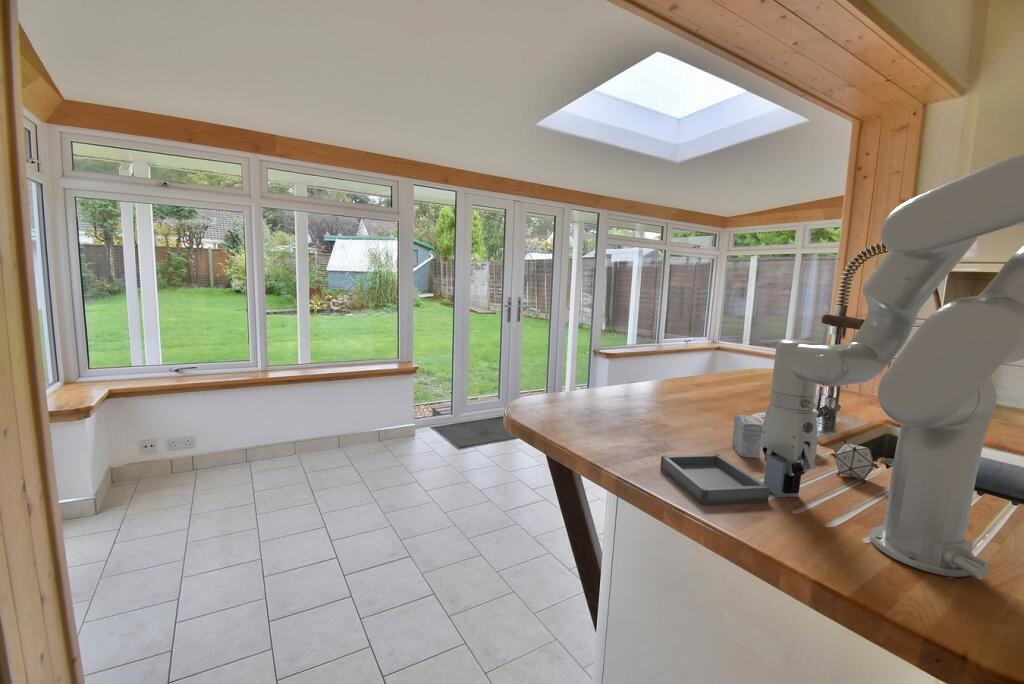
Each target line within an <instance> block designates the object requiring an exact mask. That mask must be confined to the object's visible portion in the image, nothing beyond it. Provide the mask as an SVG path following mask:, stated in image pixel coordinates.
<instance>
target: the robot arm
mask: <svg viewBox="0 0 1024 684" xmlns="http://www.w3.org/2000/svg"><path fill="white" fill-rule="evenodd" d="M1017 225H1018V226H1019V225H1020V226H1024V153H1023V154H1022V153H1021V154H1018V155H1014V156H1011V157H1008V158H1005V159H1003V160H1000V161H997V162H995V163H992V164H990V165H988V166H986V167H983V168H980V169H978V170H976V171H974V172H971V173H969V174H967V175H964V176H962V177H959V178H957V179H955V180H952V181H950V182H947V183H945V184H942V185H940V186H937V187H936V188H933V189H930V190H928V191H926V192H923V193H922V194H919V195H917V196H914V197H912V198H910V199H908V200H907V201H905V202H903V203H900V205H898V206H897V207H896V208H895V209H893V210H892V211H891V212H890V213H889V214H888V216H887V217H886V218H885V219H884V221H883V224H882V225H881V229H880V239H881V242H882V244H883V246H884V247H885V248H886V249H887V250H888V251H887V252H886V253H885V255H883V258H882V259H881V261H880V262H879V264H877V266H876V267H875V269H874V270H873V271H872V273H871V274H870V275H869V277H868V278H867V279H866V281H865V282H864V284H863V286H862V295H863V297H864V298H865V300H866V302H867V303H866V304H867V312H866V316H865V319H864V321H863V323H862V324H861V326H860V328H859V329H858V330H857V332H856V333H855V334H854V336H853V337H852V338H851V340H850V341H848V343H842V344H826V345H825V344H822V345H820V344H819V343H817V342H815V341H811V340H805V339H795V338H794V339H793V338H791V339H789V338H788V339H787V338H785V339H781V340H779V341H778V343H777V344H776V345H775V346H776V347H775V354H774V363H773V371H772V380H771V389H770V398H769V402H768V405H767V408H766V411H765V415H764V420H763V423H762V436H761V438H760V439H759V444H760V445H761V446H760V448H761V449H762V453H763V455H764V462H765V463H766V459H767V455H780V456H782V457H784V458H786V459H787V473H788V474H785V477H784V485H783V492H784V493H785V494H792V493H798V492H799V493H800V489H799V486H800V487H801V481H800V479H802V476H804V475H805V474H806V473H807V472H809V471H813V470H815V469H816V468H817V466H816V463H815V459H816V455H817V446H818V441H817V433H818V420H817V414H816V412H814V409H815V408H816V403H815V398H816V392H817V391H816V389H817V385H820V386H823V387H842V386H848V385H853V384H854V385H855V384H863V383H866V382H868V381H869V382H870V381H871V380H873V379H875V378H876V377H877V376H879V374H881V373H882V372H883V371H884V370H885V369H886V368H887V366H888V365H889V364H890V363H891V362H892V363H891V364H890V366H888V368H887V369H886V371H885V372H884V374H883V376H882V377H881V379H880V381H879V384H878V388H877V398H878V399H877V400H878V403H879V405H880V408H881V410H882V411H883V412H884V413H885V414H886V415H887V416H888V418H890V419H891V420H893V421H894V422H896V423H897V424H900V425H901V427H900V428H899V429H900V430H899V433H898V437H897V440H896V441H897V443H896V446H895V447H896V448H895V451H894V458H893V463H892V464H893V465H892V471H891V477H890V484H889V489H888V490H889V491H888V496H887V502H886V503H887V504H886V510H885V516H884V521H883V525H878V526H874V527H873V528H871V530H870V533H869V538H870V541H871V543H872V544H873V545H874V546H875V548H877V549H879V551H881V552H882V553H884V554H886V556H888V557H890V558H892V559H893V560H896V561H898V562H899V563H900V562H901V563H902V564H904V565H907V566H909V567H912V568H915V569H917V570H921V571H924V572H927V573H931V574H936V575H940V576H944V577H945V576H946V577H953V578H955V577H956V578H957V577H959V578H963V577H968V576H972V577H974V578H976V579H978V580H982V581H983V580H984V579H985V578H987V576H988V574H989V571H990V570H991V568H992V564H991V563H990V562H988V561H986V560H984V559H983V558H980V557H979V556H976V555H974V553H973V546H974V543H973V542H971V541H970V540H968V539H966V535H967V530H968V526H969V525H968V524H969V519H970V514H971V510H972V509H971V507H972V502H973V497H974V492H975V487H976V486H975V485H976V480H977V474H978V471H979V467H980V461H981V458H982V457H981V456H982V451H983V447H984V443H985V440H986V436H987V432H988V430H989V427H990V425H991V421H992V418H993V415H994V413H995V410H996V405H997V397H998V396H997V389H996V385H995V383H994V381H993V379H992V378H991V376H992V375H993V374H994V373H995V372H996V371H997V370H998V369H999V368H1000V367H1001V366H1002V365H1006V364H1011V363H1014V362H1018V361H1021V360H1024V244H1023V245H1022V246H1021V247H1020V248H1019V249H1018V250H1017V251H1016V252H1015V253H1014V254H1012V255H1011V256H1010V257H1009V259H1008V260H1007V261H1006V262H1004V264H1003V266H1002V267H1001V268H1000V269H999V271H998V273H997V274H996V275H995V276H994V278H993V279H992V280H991V281H990V282H989V283H988V285H987V286H986V287H985V288H984V289H983V290H982V291H981V292H979V294H978V295H974V296H964V297H961V298H957V299H954V300H952V301H949V302H947V303H945V304H943V305H942V306H940V307H938V308H937V309H936V310H935V311H934V312H933V313H931V314H930V315H929V316H928V317H927V318H926V319H925V320H924V321H923V323H922V324H921V325H920V326H919V328H918V329H917V330H916V331H915V332H914V334H913V336H911V338H910V339H909V337H910V335H911V333H912V330H913V328H914V325H915V323H916V320H917V316H918V313H919V311H920V310H921V309H922V307H923V306H924V305H925V303H926V302H927V301H928V300H929V298H931V296H932V295H933V293H934V292H935V291H936V290H937V289H938V287H939V286H940V285H941V284H942V283H943V281H944V280H945V279H946V277H947V276H948V275H949V274H950V273H951V271H952V270H953V269H954V268H955V267H956V266H957V265H958V263H959V262H960V261H961V260H962V258H963V257H964V256H965V255H966V254H967V253H968V251H969V250H970V249H971V248H972V247H973V245H974V243H976V241H977V239H978V237H981V236H985V235H988V234H991V233H994V232H997V231H1000V230H1005V229H1006V228H1011V227H1013V226H1017ZM908 339H909V341H908ZM907 341H908V342H907ZM906 342H907V343H906ZM905 344H906V345H905ZM903 346H904V347H903ZM902 348H903V349H902ZM899 352H900V353H899ZM897 354H898V355H897ZM895 357H896V358H895ZM894 358H895V359H894ZM893 359H894V360H893ZM892 360H893V361H892ZM794 463H797V466H796V467H795V468H794Z"/></svg>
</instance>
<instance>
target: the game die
mask: <svg viewBox="0 0 1024 684" xmlns="http://www.w3.org/2000/svg"><path fill="white" fill-rule="evenodd" d="M842 442H843V443H844V444H842V446H840V448H839V449H838V450H837V451H836V452H835V453H833V452H832V453H830V455H831V457H833V458H834V460H835V464H836V466H837V467H836V468H837V470H838V472H837V473H836V477H838V476H840V475H845V476H848V477H853V478H855V479H856V478H857V479H860V480H862V482H863V483H864V482H865V483H866V484H867V480H866V478H867V477H868V476H869V474H870V473H871V472H872V471H873V470H874V469H875V468H876V469H880V467H879V466H878V464H877V463H875V461H874V457H873V455H872V451H871V449H873V448H874V447H873V445H869V446H868V447H866V446H862V445H857V444H854V443H849V442H847V440H846V439H842ZM865 483H864V484H865Z"/></svg>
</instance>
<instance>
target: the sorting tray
mask: <svg viewBox="0 0 1024 684" xmlns="http://www.w3.org/2000/svg"><path fill="white" fill-rule="evenodd" d="M660 470H661V471H663V472H664V474H666V475H667V476H668V477H670V478H671V479H672V480H673V481H674V482H675V483H677V484H678V486H680V487H681V488H682V489H683V490H685V491H686V493H688V494H689V495H690V496H691V497H692V498H694V499H695V500H696V501H697V502H698V503H699V504H700V505H701V506H713V505H735V504H752V503H753V504H757V503H768V502H769V500H770V499H769V497H770V487H768V486H767V485H765V484H764V482H762V481H760V480H758V478H755V477H754V476H753V475H752V474H750V473H748V472H746V471H745V470H743V469H742V468H740V467H738V466H737V465H735V464H734V463H733V462H731V461H730V460H727V459H726V458H724V457H723V456H721V455H720V454H718V453H717V454H716V453H715V454H684V455H683V454H681V455H679V454H678V455H677V454H675V455H661V459H660Z"/></svg>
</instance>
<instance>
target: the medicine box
mask: <svg viewBox="0 0 1024 684" xmlns="http://www.w3.org/2000/svg"><path fill="white" fill-rule="evenodd" d="M762 430H763V424H762V423H760V421H759V420H758V419H756V418H755V417H754V416H752V415H742V414H737V415H735V416H734V423H733V433H732V434H733V435H732V441H731V442H732V445H731V446H732V448H733V449H735V451H736V452H737V454H739V456H740V457H742V458H748V459H751V458H752V459H760V456H761V455H760V453H761V445H760V444H759V439H760V438H761V437H762Z"/></svg>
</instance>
